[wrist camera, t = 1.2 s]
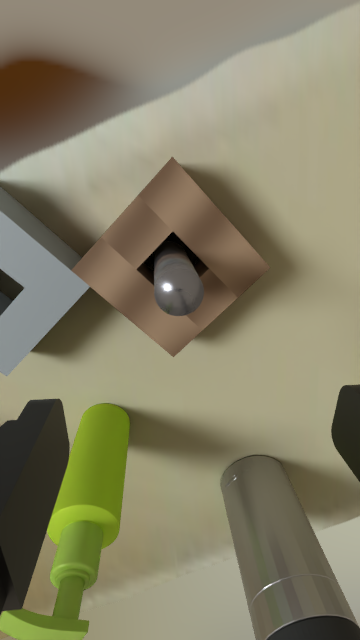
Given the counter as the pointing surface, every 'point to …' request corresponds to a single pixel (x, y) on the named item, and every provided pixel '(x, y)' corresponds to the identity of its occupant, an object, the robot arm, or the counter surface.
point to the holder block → (147, 234)
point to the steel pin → (176, 281)
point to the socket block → (32, 281)
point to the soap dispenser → (81, 524)
